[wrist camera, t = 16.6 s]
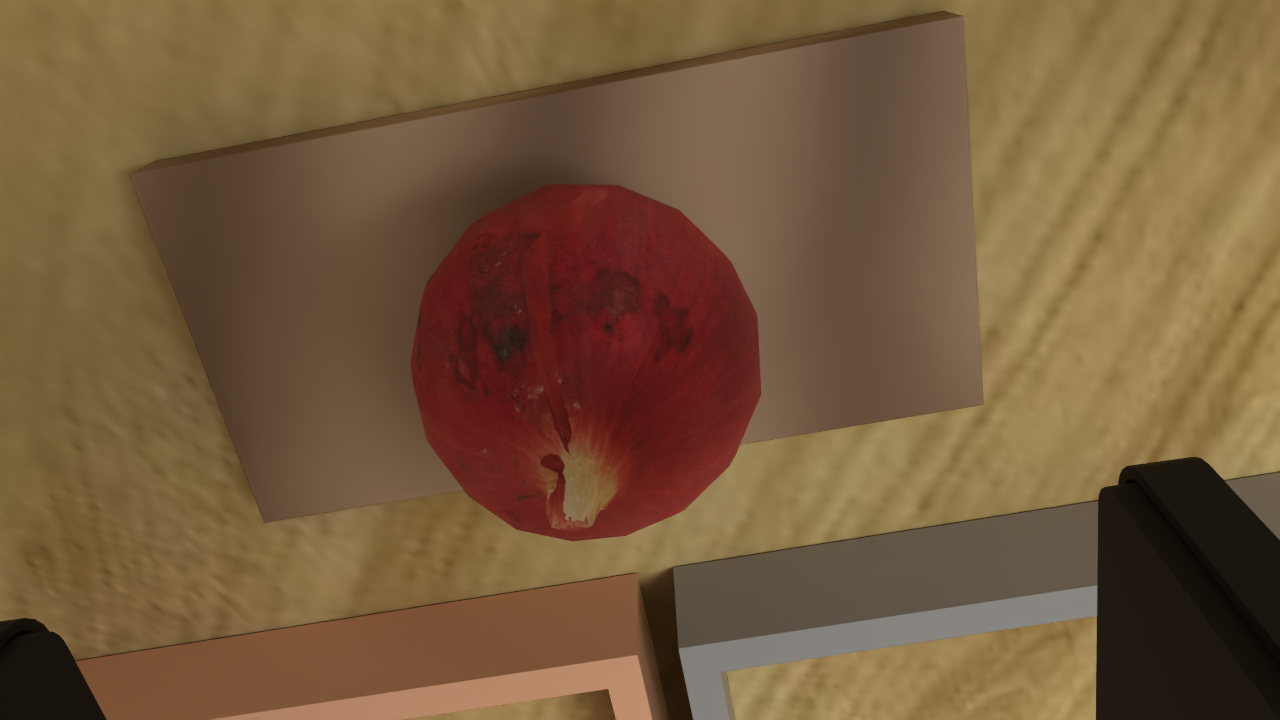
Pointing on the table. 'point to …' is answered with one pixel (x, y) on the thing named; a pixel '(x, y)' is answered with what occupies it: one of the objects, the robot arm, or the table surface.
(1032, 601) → the frame
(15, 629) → the robot arm
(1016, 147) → the table surface
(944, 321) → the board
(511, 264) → the onion
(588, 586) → the terracotta crate
